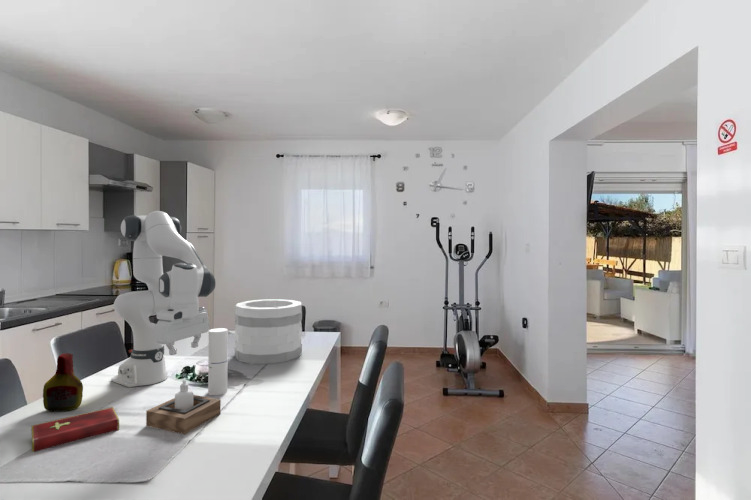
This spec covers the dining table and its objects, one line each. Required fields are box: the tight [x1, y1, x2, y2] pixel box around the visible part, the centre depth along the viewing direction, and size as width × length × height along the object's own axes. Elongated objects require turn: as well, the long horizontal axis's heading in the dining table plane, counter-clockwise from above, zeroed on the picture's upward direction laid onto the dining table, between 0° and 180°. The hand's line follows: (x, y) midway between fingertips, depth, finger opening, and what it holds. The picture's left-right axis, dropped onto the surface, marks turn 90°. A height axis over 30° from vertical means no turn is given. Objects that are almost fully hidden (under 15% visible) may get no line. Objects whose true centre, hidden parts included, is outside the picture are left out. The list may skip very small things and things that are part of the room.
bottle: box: [42, 352, 84, 412], centre depth 140 cm, size 12×6×20 cm, turn 97°
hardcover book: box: [30, 406, 120, 453], centre depth 123 cm, size 12×21×4 cm, turn 132°
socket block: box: [145, 394, 222, 435], centre depth 134 cm, size 16×16×6 cm
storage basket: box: [234, 298, 303, 365], centre depth 212 cm, size 35×35×27 cm
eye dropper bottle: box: [174, 379, 194, 411], centre depth 133 cm, size 4×6×12 cm
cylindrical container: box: [207, 327, 229, 396], centre depth 158 cm, size 7×7×25 cm
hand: (184, 350), depth 135 cm, fingers open, 8 cm apart
